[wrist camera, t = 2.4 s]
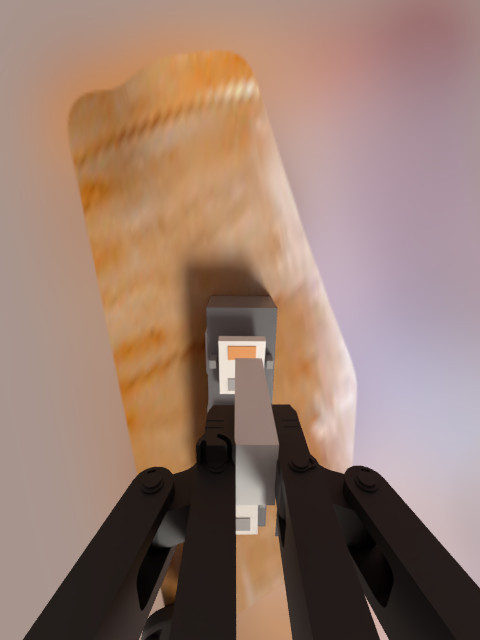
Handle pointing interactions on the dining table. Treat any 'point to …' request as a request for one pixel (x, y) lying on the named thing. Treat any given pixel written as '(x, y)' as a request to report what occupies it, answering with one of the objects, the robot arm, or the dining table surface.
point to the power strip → (239, 321)
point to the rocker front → (237, 349)
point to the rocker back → (246, 519)
